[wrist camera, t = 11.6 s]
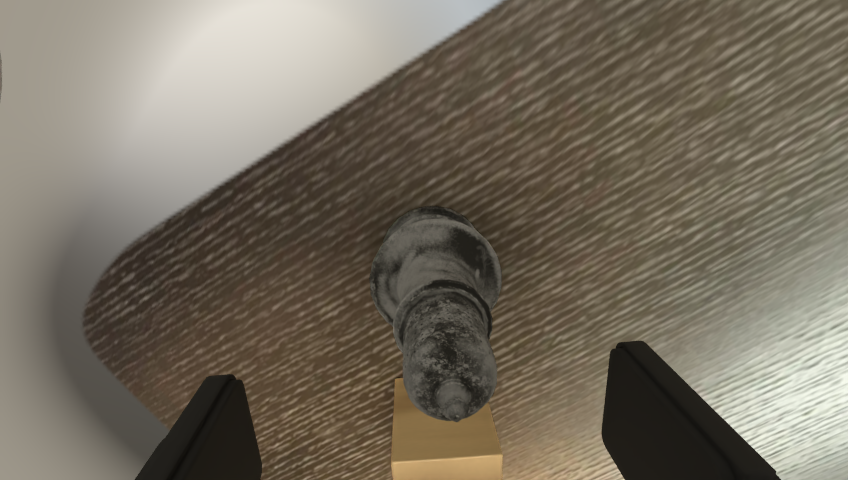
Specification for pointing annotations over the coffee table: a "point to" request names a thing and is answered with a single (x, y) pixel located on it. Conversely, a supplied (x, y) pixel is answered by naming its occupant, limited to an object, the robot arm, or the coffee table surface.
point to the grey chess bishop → (440, 309)
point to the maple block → (442, 444)
